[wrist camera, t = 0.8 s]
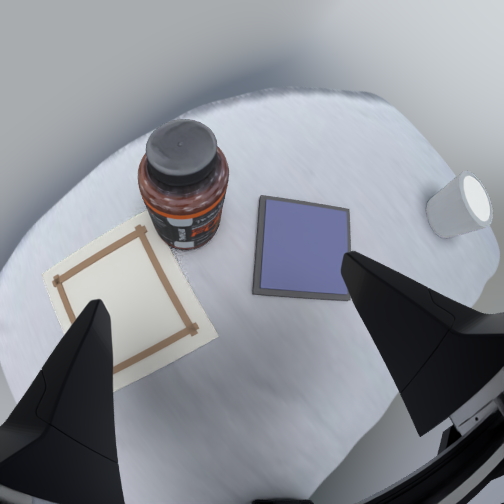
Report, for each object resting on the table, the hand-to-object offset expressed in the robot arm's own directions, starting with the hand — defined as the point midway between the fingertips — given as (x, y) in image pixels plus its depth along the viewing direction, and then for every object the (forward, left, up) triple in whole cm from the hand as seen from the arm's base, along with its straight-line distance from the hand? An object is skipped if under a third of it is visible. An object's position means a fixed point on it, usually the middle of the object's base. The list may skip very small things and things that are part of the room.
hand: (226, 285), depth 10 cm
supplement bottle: (+7, +5, -15) cm, 17 cm away
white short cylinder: (+16, -24, -15) cm, 33 cm away
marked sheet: (-2, +9, -14) cm, 17 cm away
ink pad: (+7, -6, -14) cm, 17 cm away
